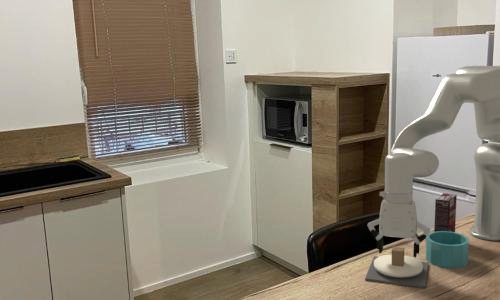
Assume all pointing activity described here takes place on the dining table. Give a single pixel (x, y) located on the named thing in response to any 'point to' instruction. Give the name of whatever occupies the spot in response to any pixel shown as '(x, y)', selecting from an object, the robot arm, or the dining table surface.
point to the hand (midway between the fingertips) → (397, 253)
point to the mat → (405, 281)
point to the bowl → (447, 249)
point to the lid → (398, 264)
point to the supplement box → (445, 213)
